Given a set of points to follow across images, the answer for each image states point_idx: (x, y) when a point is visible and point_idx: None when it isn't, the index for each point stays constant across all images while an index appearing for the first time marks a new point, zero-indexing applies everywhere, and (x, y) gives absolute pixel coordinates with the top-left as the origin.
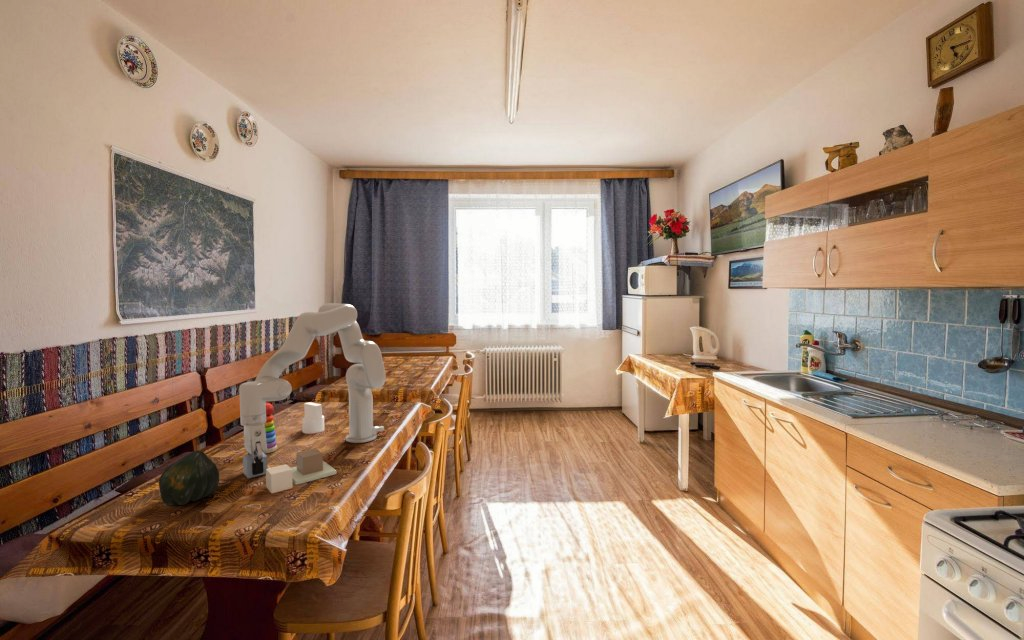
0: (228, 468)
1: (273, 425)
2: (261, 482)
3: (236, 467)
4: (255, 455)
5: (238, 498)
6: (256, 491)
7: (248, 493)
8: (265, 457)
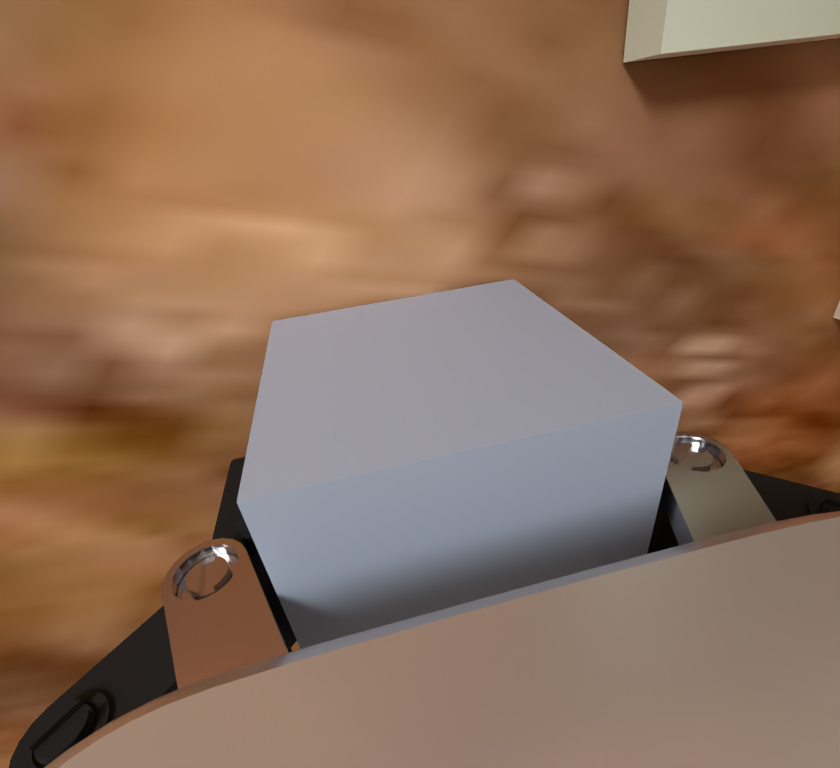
0: (73, 625)
1: None
2: (695, 350)
3: (64, 572)
4: (456, 586)
5: (825, 486)
6: (835, 390)
7: (813, 438)
8: (660, 418)
